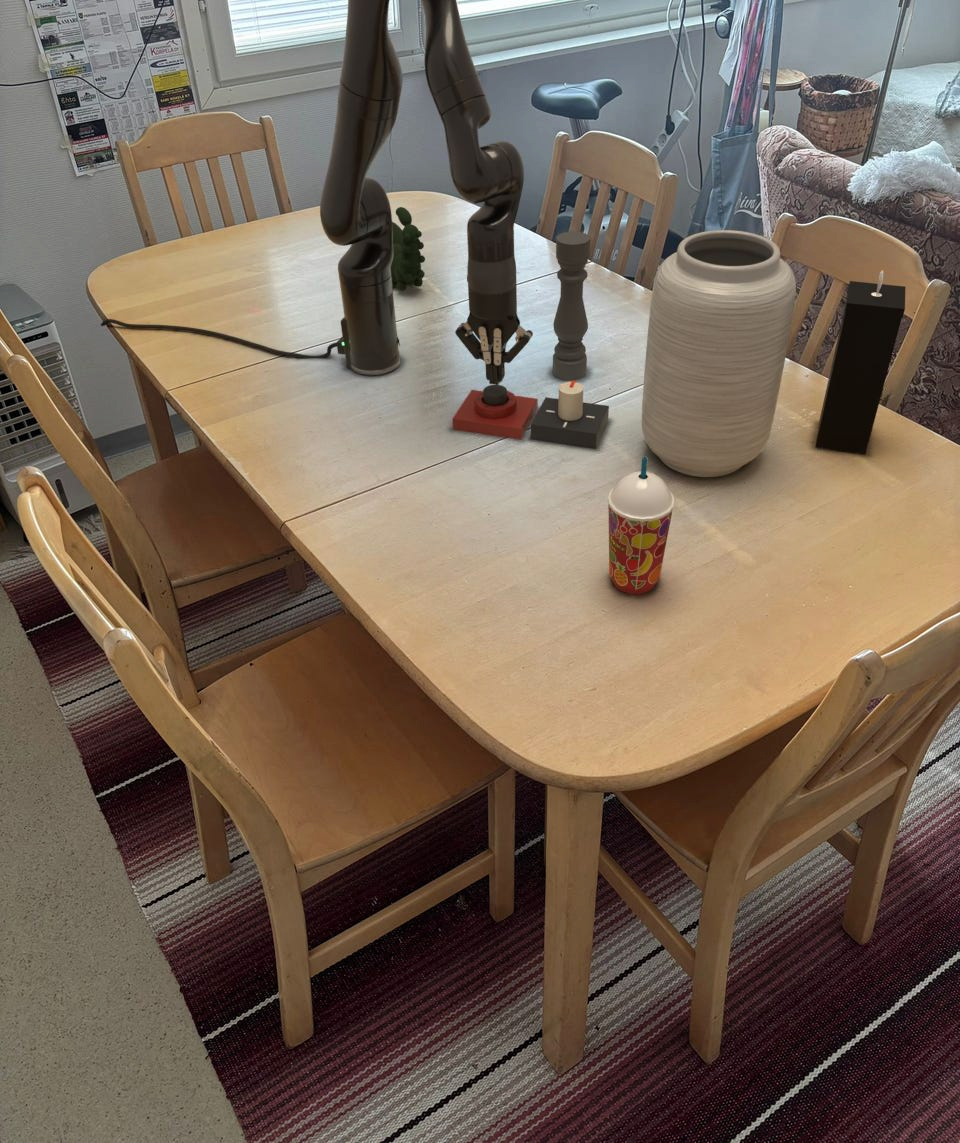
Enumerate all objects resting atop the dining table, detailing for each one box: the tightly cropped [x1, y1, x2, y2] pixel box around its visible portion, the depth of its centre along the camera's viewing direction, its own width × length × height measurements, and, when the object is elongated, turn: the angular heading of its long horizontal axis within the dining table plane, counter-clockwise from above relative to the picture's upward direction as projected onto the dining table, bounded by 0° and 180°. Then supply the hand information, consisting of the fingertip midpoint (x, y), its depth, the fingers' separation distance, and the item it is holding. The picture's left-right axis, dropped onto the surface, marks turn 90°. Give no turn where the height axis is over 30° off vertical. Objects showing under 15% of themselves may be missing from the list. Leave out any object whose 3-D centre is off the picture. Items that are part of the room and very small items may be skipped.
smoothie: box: [607, 456, 676, 595], centre depth 125 cm, size 8×8×20 cm
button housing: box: [452, 389, 539, 441], centre depth 163 cm, size 12×10×4 cm
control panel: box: [530, 396, 610, 450], centre depth 160 cm, size 11×9×3 cm
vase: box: [641, 229, 797, 478], centre depth 144 cm, size 20×20×34 cm
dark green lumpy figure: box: [391, 206, 426, 292], centre depth 205 cm, size 9×19×25 cm
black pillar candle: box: [814, 270, 906, 455], centre depth 147 cm, size 8×8×28 cm
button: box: [482, 384, 508, 406], centre depth 162 cm, size 4×4×2 cm
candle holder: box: [552, 231, 591, 382], centre depth 168 cm, size 6×6×25 cm
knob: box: [557, 380, 584, 421], centre depth 158 cm, size 4×4×5 cm
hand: (495, 381), depth 160 cm, fingers closed
